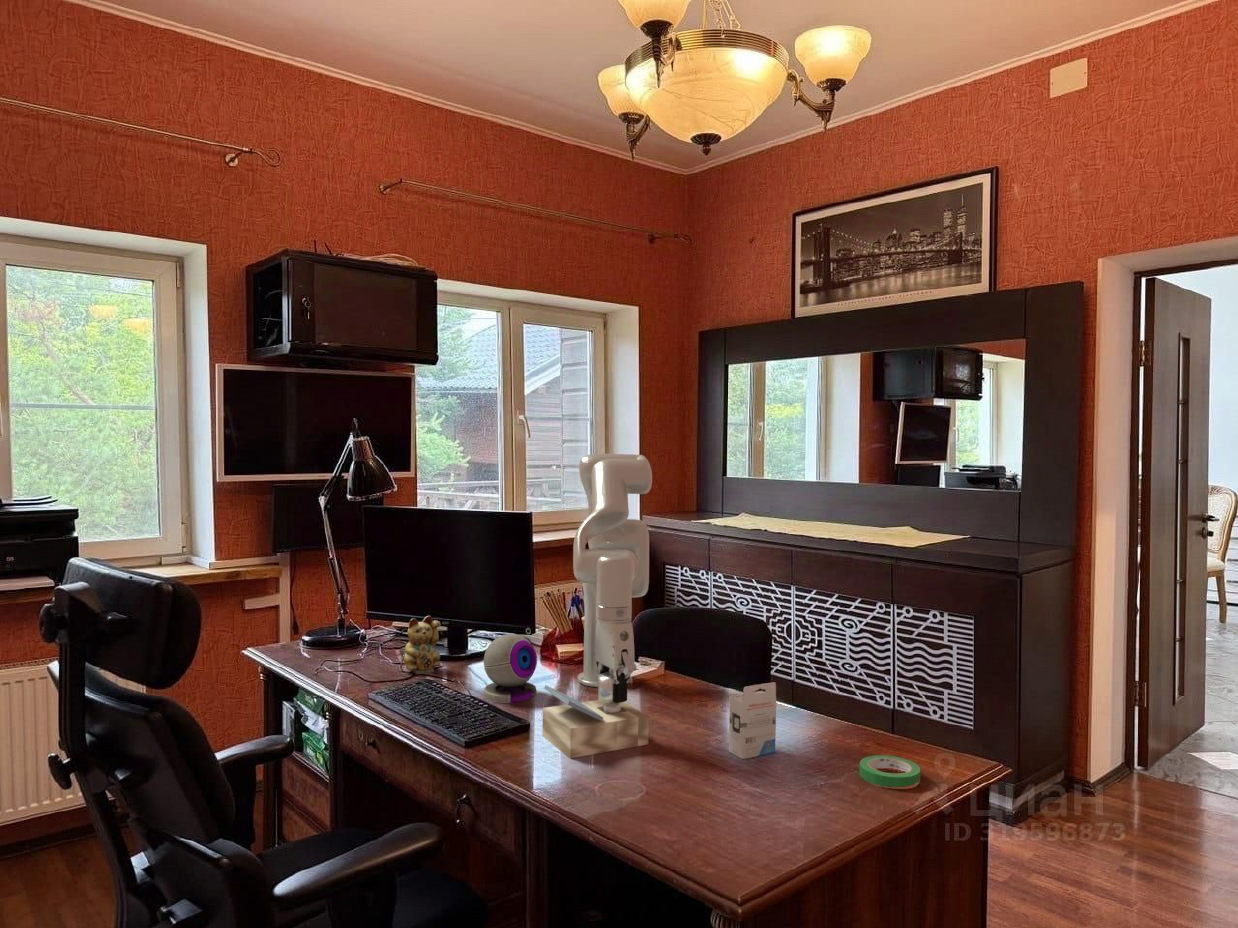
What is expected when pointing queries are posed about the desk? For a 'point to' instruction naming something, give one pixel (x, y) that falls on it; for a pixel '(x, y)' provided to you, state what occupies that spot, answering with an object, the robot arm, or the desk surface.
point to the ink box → (753, 721)
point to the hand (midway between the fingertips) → (612, 696)
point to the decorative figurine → (422, 646)
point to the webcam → (510, 669)
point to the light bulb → (607, 693)
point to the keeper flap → (573, 703)
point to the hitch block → (594, 729)
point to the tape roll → (889, 779)
